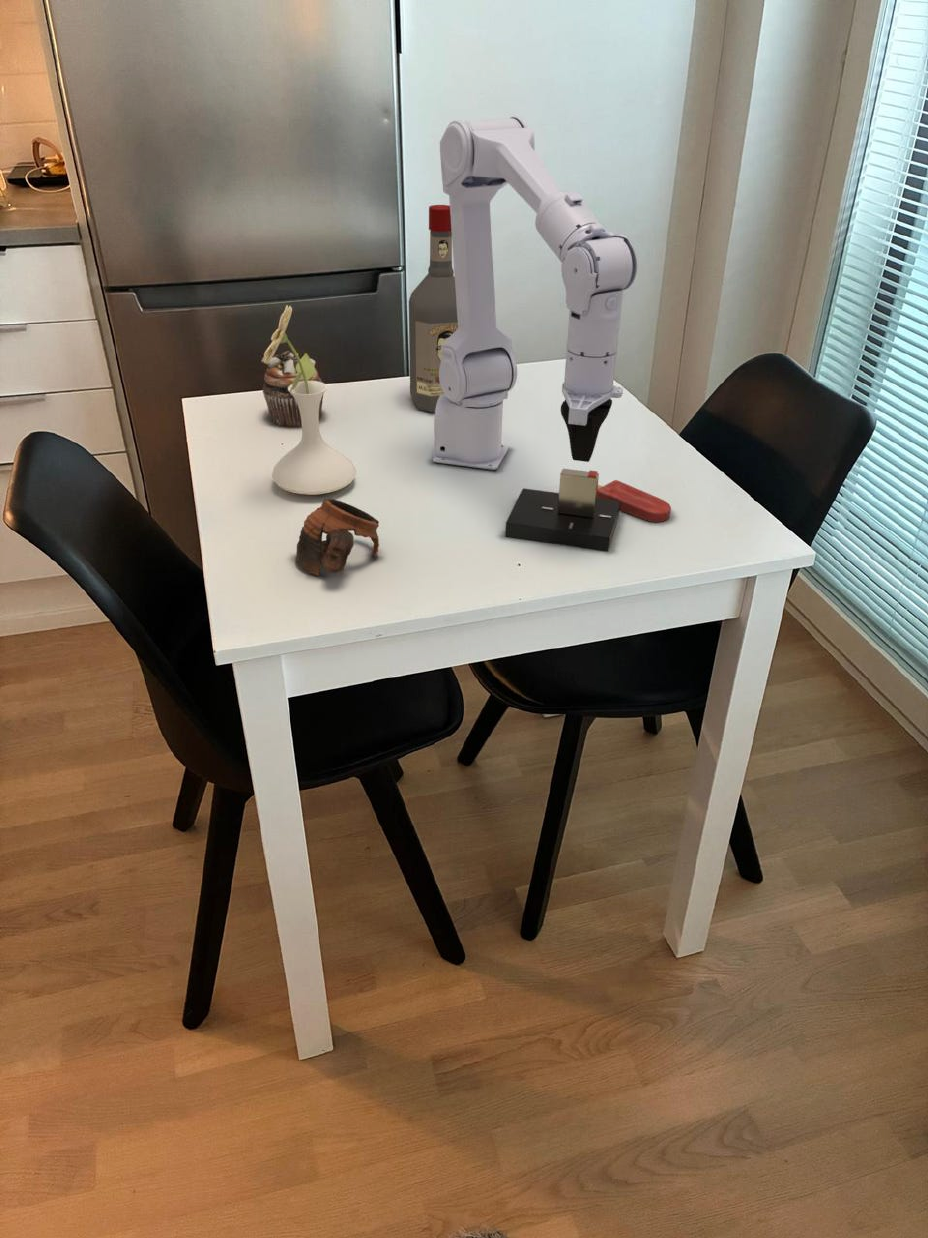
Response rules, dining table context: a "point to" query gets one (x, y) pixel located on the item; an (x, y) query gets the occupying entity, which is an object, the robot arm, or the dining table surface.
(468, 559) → the dining table surface
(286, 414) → the cupcake
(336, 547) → the pottery mug
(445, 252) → the liquor
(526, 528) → the knob box
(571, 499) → the knob
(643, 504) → the popsicle
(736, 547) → the dining table surface
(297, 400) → the flower in vase
